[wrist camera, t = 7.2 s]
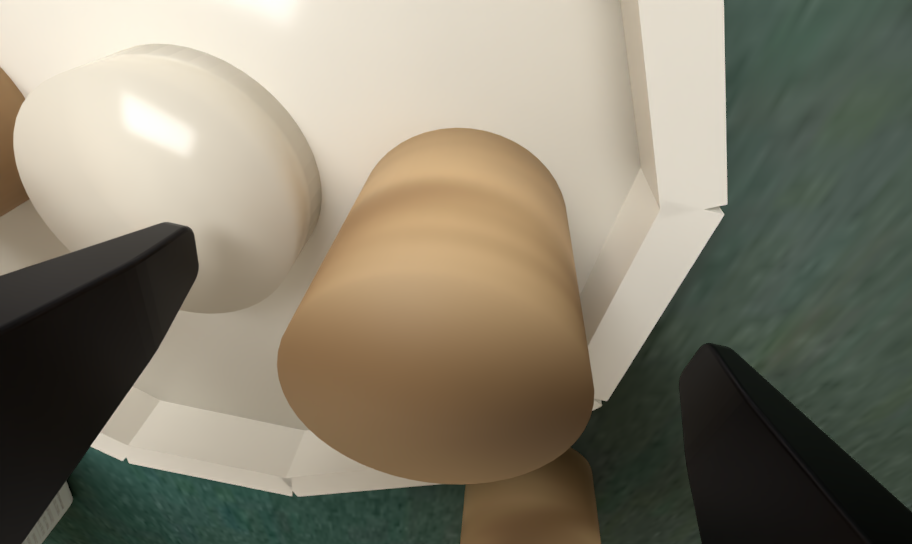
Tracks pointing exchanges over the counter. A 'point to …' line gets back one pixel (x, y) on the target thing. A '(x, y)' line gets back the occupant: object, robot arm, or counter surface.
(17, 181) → the bead
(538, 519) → the bead
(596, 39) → the tray
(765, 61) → the counter surface
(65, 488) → the small box
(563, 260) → the tan rounded piece
